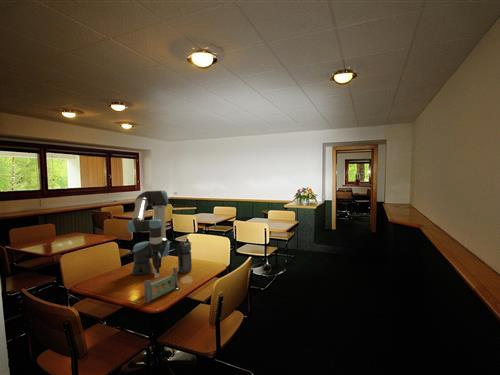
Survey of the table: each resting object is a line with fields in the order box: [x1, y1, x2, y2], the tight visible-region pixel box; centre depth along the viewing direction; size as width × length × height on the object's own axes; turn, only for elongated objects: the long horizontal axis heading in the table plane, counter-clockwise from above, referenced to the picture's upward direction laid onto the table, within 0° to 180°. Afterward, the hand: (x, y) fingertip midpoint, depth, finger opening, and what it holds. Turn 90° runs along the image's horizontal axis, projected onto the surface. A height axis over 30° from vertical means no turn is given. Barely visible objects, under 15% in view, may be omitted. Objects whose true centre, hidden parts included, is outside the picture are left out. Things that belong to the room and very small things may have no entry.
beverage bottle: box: [177, 238, 193, 274], centre depth 194 cm, size 10×13×25 cm
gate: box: [150, 274, 175, 301], centre depth 156 cm, size 17×3×9 cm, turn 148°
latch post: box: [142, 279, 152, 304], centre depth 147 cm, size 3×3×13 cm
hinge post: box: [171, 266, 181, 292], centre depth 164 cm, size 6×6×15 cm
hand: (157, 277), depth 165 cm, fingers closed
